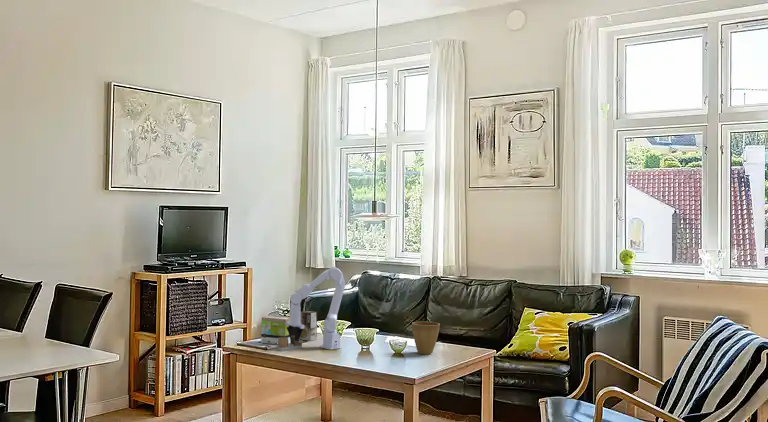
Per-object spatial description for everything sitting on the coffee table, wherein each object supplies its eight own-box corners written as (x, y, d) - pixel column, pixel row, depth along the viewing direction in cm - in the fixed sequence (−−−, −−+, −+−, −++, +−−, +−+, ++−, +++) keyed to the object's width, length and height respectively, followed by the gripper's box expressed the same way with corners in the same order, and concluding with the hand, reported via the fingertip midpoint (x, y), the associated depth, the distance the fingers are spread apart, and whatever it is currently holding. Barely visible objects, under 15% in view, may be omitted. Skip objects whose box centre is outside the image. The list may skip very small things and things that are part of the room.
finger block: (299, 345, 379) (299, 336, 380) (293, 346, 377) (294, 336, 377) (295, 344, 382) (295, 335, 382) (290, 345, 380) (290, 336, 380)
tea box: (260, 343, 392) (261, 317, 392) (268, 340, 401) (269, 314, 401) (284, 345, 387) (285, 318, 387) (292, 342, 397) (293, 316, 397)
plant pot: (437, 356, 364) (438, 326, 364) (409, 355, 367) (409, 324, 367) (440, 351, 379) (441, 322, 379) (413, 350, 382) (414, 320, 382)
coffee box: (317, 339, 408) (317, 311, 408) (310, 341, 403) (311, 313, 403) (305, 337, 413) (305, 310, 413) (298, 339, 408) (298, 311, 408)
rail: (302, 348, 380) (302, 336, 380) (280, 351, 370) (280, 338, 370) (296, 346, 384) (296, 334, 384) (275, 349, 374) (275, 337, 374)
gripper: (281, 314, 382) (280, 339, 382) (297, 317, 372) (296, 343, 371) (292, 313, 387) (291, 337, 387) (307, 316, 376) (307, 341, 376)
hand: (294, 340), depth 380 cm, fingers open, 4 cm apart
